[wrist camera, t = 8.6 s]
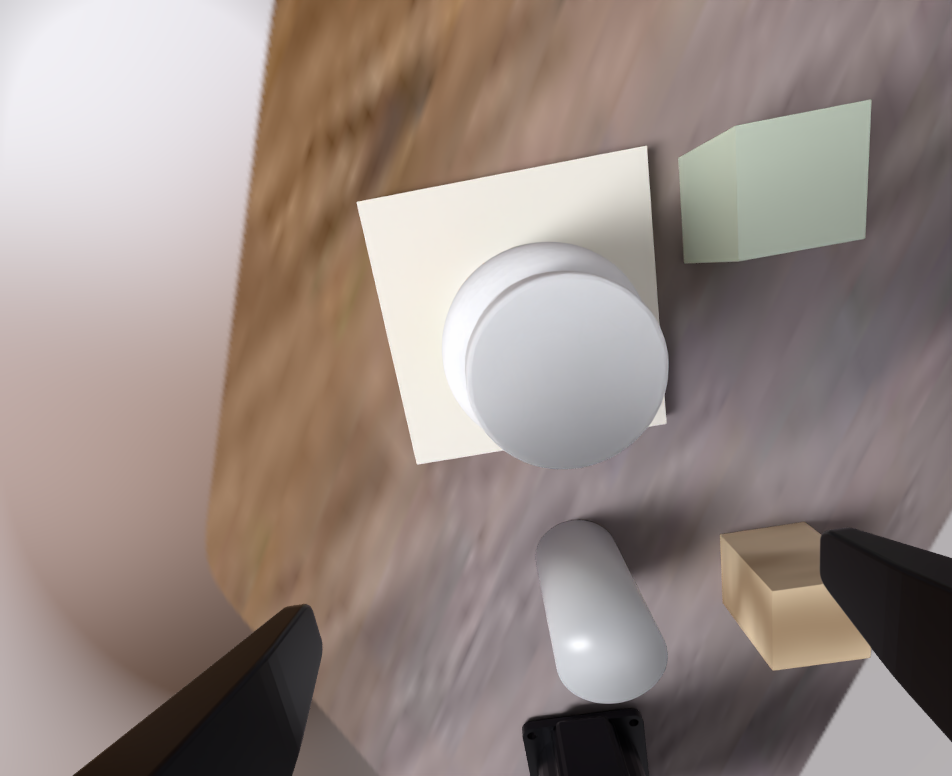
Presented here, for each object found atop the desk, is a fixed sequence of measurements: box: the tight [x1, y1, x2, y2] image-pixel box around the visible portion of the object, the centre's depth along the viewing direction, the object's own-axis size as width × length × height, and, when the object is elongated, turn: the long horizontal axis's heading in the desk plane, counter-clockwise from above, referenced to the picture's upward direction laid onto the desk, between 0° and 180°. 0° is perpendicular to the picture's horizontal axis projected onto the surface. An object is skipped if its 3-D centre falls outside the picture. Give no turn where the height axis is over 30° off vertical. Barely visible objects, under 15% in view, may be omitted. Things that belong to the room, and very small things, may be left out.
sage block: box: [678, 99, 872, 263], centre depth 16 cm, size 4×4×4 cm
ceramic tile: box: [357, 146, 666, 464], centre depth 18 cm, size 11×11×1 cm
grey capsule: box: [535, 520, 668, 704], centre depth 19 cm, size 4×4×6 cm
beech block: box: [720, 522, 871, 671], centre depth 20 cm, size 4×4×4 cm
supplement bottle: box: [442, 242, 669, 469], centre depth 13 cm, size 5×5×10 cm
